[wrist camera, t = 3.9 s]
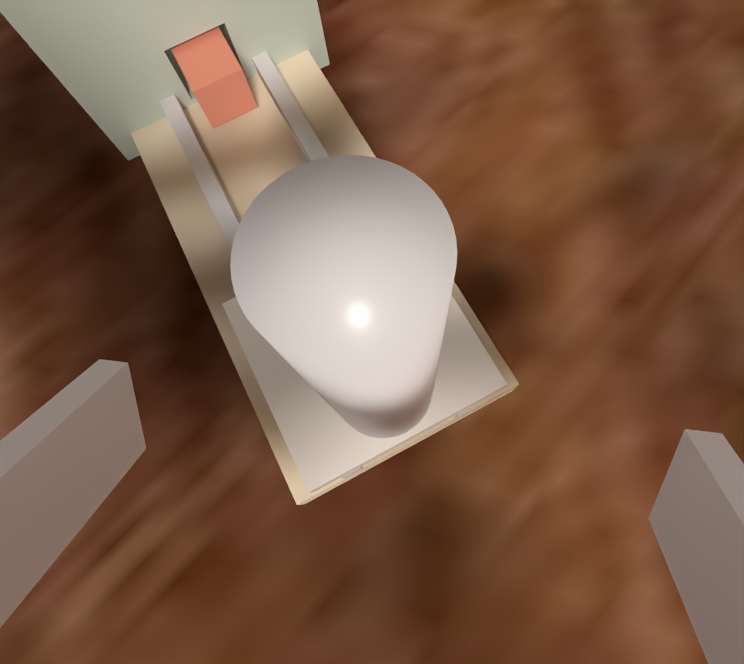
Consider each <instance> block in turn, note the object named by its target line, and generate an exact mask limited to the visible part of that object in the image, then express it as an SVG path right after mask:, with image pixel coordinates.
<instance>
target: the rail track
mask: <svg viewBox="0 0 744 664" xmlns="http://www.w3.org/2000/svg"><path fill="white" fill-rule="evenodd" d="M252 60H253V63H254V65H255V68H256V71H257V73H258V74H256V75H254V76H252V77H250V78H247V79H246V80H247V82H248V85H249V87H250V90H251V92H252V94H253V97H254V99H255V102H256V104H257V108H255V109H253V110H251V111H249V112H247V113H245V114H243V115H241V116H238V117H236V118H234V119H232V120H230V121H228V122H226V123H224V124H222V125H220V126H218V127H216V128H212V126H211V124H210V122H209V120H208V119H207V117H206V115H205V113H204V111H203V110H202V108H201V106H200V104H199V102H197V103H195V104H193V105H191V106H188V107H186V108H184V109H183V108H182V106H181V104H180V103H179V101H178V99H177V98H176V96H175V95H172V96H170V97H168V98H166V99H164V100H162V101H160V103H161V105H162V108H163V110H164V112H165V114H166V116H167V117H165V118H163V119H161V120H159V121H157V122H155V123H153V124H151V125H148V126H146V127H144V128H142V129H140V130H138V131H136V132H134V133H132V134H131V135H132V137H133V140H134V142H135V144H136V146H137V149H138V151H139V153H140V155H141V158H142V160H143V162H144V164H145V166H146V169H147V171H148V173H149V175H150V178H151V180H152V182H153V184H154V187H155V189H156V191H157V193H158V195H159V198H160V200H161V202H162V204H163V207H164V209H165V211H166V213H167V216H168V218H169V220H170V222H171V225H172V227H173V229H174V231H175V233H176V236H177V238H178V240H179V242H180V245H181V247H182V249H183V251H184V254H185V256H186V258H187V260H188V263H189V265H190V267H191V269H192V271H193V274H194V276H195V278H196V280H197V283H198V285H199V287H200V289H201V292H202V294H203V296H204V298H205V300H206V303H207V305H208V307H209V309H210V312H211V314H212V316H213V318H214V321H215V323H216V325H217V327H218V330H219V332H220V334H221V336H222V338H223V341H224V343H225V345H226V347H227V350H228V352H229V354H230V356H231V359H232V361H233V363H234V365H235V368H236V370H237V372H238V374H239V376H240V379H241V381H242V383H243V385H244V388H245V390H246V392H247V394H248V397H249V399H250V401H251V403H252V405H253V408H254V410H255V412H256V414H257V417H258V419H259V421H260V423H261V426H262V428H263V430H264V432H265V435H266V437H267V439H268V441H269V443H270V446H271V448H272V450H273V452H274V455H275V457H276V459H277V461H278V464H279V466H280V468H281V470H282V473H283V475H284V477H285V479H286V481H287V484H288V486H289V488H290V490H291V493H292V495H293V497H294V499H295V502H296V504H297V505H301V504H306V503H308V502H310V501H311V500H313V499H315V498H317V497H319V496H321V495H322V494H324V493H326V492H328V491H330V490H332V489H333V488H335V487H337V486H339V485H341V484H343V483H344V482H346V481H348V480H350V479H352V478H354V477H355V476H357V475H359V474H361V473H363V472H365V471H366V470H368V469H370V468H372V467H374V466H376V465H377V464H379V463H381V462H383V461H385V460H387V459H388V458H390V457H392V456H394V455H396V454H398V453H399V452H401V451H403V450H405V449H407V448H409V447H410V446H412V445H414V444H416V443H418V442H420V441H421V440H423V439H425V438H427V437H429V436H431V435H432V434H434V433H436V432H438V431H440V430H442V429H443V428H445V427H447V426H449V425H451V424H453V423H454V422H456V421H458V420H460V419H462V418H464V417H465V416H467V415H469V414H471V413H473V412H475V411H476V410H478V409H480V408H482V407H484V406H486V405H487V404H489V403H491V402H493V401H495V400H497V399H498V398H500V397H502V396H504V395H506V394H508V393H509V392H511V391H513V390H514V389H515V388H516V387H517V386H518V385H519V383H518V382H517V380H516V378H515V377H514V375H513V374H512V372H511V370H510V369H509V367H508V366H507V364H506V363H505V361H504V359H503V358H502V356H501V355H500V353H499V351H498V350H497V348H496V347H495V345H494V344H493V342H492V340H491V339H490V337H489V336H488V334H487V332H486V331H485V329H484V328H483V326H482V325H481V323H480V321H479V320H478V318H477V317H476V315H475V313H474V312H473V310H472V309H471V307H470V306H469V304H468V302H467V301H466V299H465V298H464V296H463V294H462V293H461V291H460V290H459V288H458V287H457V285H456V283H455V282H453V287H452V293H451V295H452V296H453V298H454V299H455V301H456V303H457V304H458V306H459V307H460V309H461V311H462V312H463V314H464V315H465V317H466V319H467V320H468V322H469V324H470V325H471V327H472V328H473V330H474V332H475V333H476V335H477V336H478V338H479V340H480V341H481V343H482V344H483V346H484V348H485V349H486V351H487V352H488V354H489V356H490V357H491V359H492V360H493V362H494V364H495V365H496V367H497V368H498V370H499V372H500V373H501V375H502V376H503V378H504V380H505V381H506V383H507V385H506V386H505V388H504V389H503V390H501V391H499V392H497V393H496V394H494V395H492V396H490V397H488V398H486V399H485V400H483V401H481V402H479V403H477V404H475V405H474V406H472V407H470V408H468V409H466V410H464V411H463V412H461V413H459V414H457V415H455V416H453V417H452V418H450V419H448V420H446V421H444V422H442V423H440V424H439V425H437V426H435V427H433V428H431V429H429V430H428V431H426V432H424V433H422V434H420V435H418V436H417V437H415V438H413V439H411V440H409V441H407V442H406V443H404V444H402V445H400V446H398V447H396V448H395V449H393V450H391V451H389V452H387V453H385V454H384V455H382V456H380V457H378V458H376V459H374V460H373V461H371V462H369V463H367V464H365V465H363V466H361V467H360V468H358V469H356V470H354V471H352V472H350V473H349V474H347V475H345V476H343V477H341V478H339V479H338V480H336V481H334V482H332V483H330V484H328V485H327V486H325V487H323V488H321V489H319V490H317V491H316V492H309V493H308V491H307V488H306V486H305V484H304V482H303V480H302V477H301V475H300V473H299V471H298V469H297V467H296V464H295V462H294V460H293V458H292V456H291V453H290V451H289V449H288V447H287V445H286V442H285V440H284V438H283V436H282V434H281V432H280V429H279V427H278V425H277V423H276V421H275V418H274V416H273V414H272V412H271V410H270V408H269V405H268V403H267V401H266V399H265V397H264V394H263V392H262V390H261V388H260V386H259V384H258V381H257V379H256V377H255V375H254V373H253V370H252V368H251V366H250V364H249V362H248V360H247V357H246V355H245V353H244V351H243V349H242V346H241V344H240V342H239V340H238V338H237V336H236V333H235V331H234V329H233V327H232V325H231V322H230V320H229V318H228V316H227V314H226V312H225V309H224V307H223V305H222V304H223V303H225V302H227V301H229V300H231V299H233V298H235V297H236V295H235V293H234V289H233V284H232V280H231V269H230V262H231V250H232V245H233V240H234V237H235V234H236V231H237V228H238V226H239V224H240V222H241V220H242V218H243V216H244V214H245V212H246V211H247V209H248V208H249V206H250V205H251V203H252V202H253V201H254V200H255V198H256V197H257V196H258V195H259V194H260V193H261V192H262V191H263V190H264V189H265V188H266V187H267V186H268V185H269V184H270V183H272V182H273V181H274V180H276V179H277V178H279V177H280V176H281V175H283V174H285V173H286V172H288V171H290V170H292V169H293V168H295V167H298V166H300V165H302V164H305V163H307V162H310V161H314V160H317V159H321V158H326V157H331V156H341V155H360V156H368V157H374V158H376V157H375V155H374V154H373V152H372V150H371V149H370V147H369V146H368V144H367V142H366V141H365V139H364V138H363V136H362V135H361V133H360V131H359V130H358V128H357V127H356V125H355V123H354V122H353V120H352V119H351V117H350V116H349V114H348V112H347V111H346V109H345V108H344V106H343V104H342V103H341V101H340V100H339V98H338V97H337V95H336V93H335V92H334V90H333V89H332V87H331V85H330V84H329V82H328V81H327V79H326V78H325V76H324V74H323V73H322V71H321V70H320V68H319V66H318V65H317V63H316V62H315V60H314V59H313V57H312V55H311V54H310V52H309V51H308V50H306V51H304V52H302V53H300V54H298V55H296V56H294V57H292V58H290V59H287V60H285V61H283V62H281V63H279V64H277V65H274V63H273V62H272V60H271V58H270V57H269V55H268V53H267V52H264V53H261V54H259V55H257V56H255V57H253V58H252Z"/></svg>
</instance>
